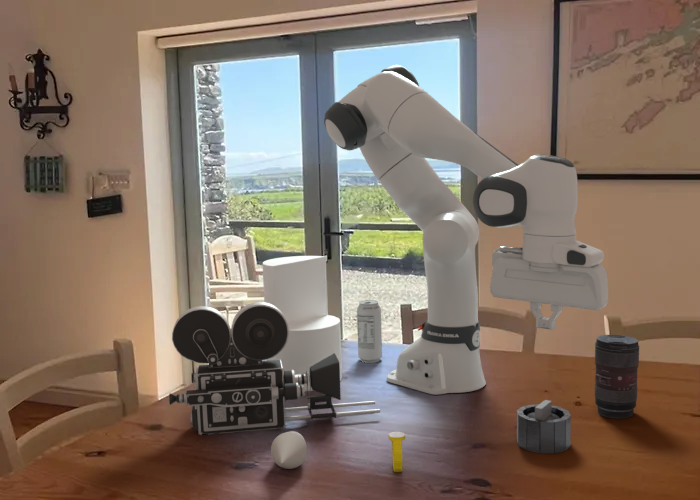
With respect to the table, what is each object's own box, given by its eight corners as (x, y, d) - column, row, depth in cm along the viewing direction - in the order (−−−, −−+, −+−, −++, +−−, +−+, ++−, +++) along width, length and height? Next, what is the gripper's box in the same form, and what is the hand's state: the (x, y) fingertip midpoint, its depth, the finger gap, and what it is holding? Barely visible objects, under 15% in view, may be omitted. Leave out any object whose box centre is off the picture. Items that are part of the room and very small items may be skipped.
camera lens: (641, 421, 142) (642, 344, 140) (596, 419, 143) (597, 343, 142) (634, 406, 150) (635, 333, 148) (591, 405, 151) (592, 333, 149)
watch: (407, 476, 121) (406, 441, 120) (390, 477, 121) (389, 441, 120) (404, 461, 127) (404, 427, 126) (388, 461, 127) (387, 428, 126)
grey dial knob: (521, 429, 131) (522, 405, 130) (533, 420, 135) (534, 397, 135) (552, 436, 128) (553, 411, 127) (564, 426, 132) (564, 402, 132)
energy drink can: (387, 359, 189) (385, 301, 187) (371, 365, 184) (369, 305, 182) (369, 355, 193) (367, 298, 191) (353, 360, 188) (351, 302, 187)
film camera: (171, 444, 137) (163, 317, 134) (176, 422, 149) (168, 305, 146) (384, 426, 143) (381, 304, 140) (372, 406, 155) (369, 293, 152)
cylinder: (252, 382, 173) (246, 263, 170) (304, 364, 186) (299, 254, 183) (305, 396, 162) (301, 269, 159) (357, 376, 175) (353, 258, 171)
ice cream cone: (279, 491, 117) (291, 466, 132) (309, 465, 116) (318, 444, 131) (254, 460, 117) (269, 439, 132) (283, 435, 117) (295, 417, 132)
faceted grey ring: (509, 446, 132) (509, 415, 131) (529, 430, 139) (529, 401, 138) (558, 457, 126) (558, 425, 126) (577, 440, 134) (577, 410, 133)
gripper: (485, 247, 132) (482, 323, 134) (602, 257, 120) (597, 341, 122) (500, 243, 137) (497, 316, 139) (613, 253, 125) (609, 333, 127)
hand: (545, 328), depth 130 cm, fingers closed
